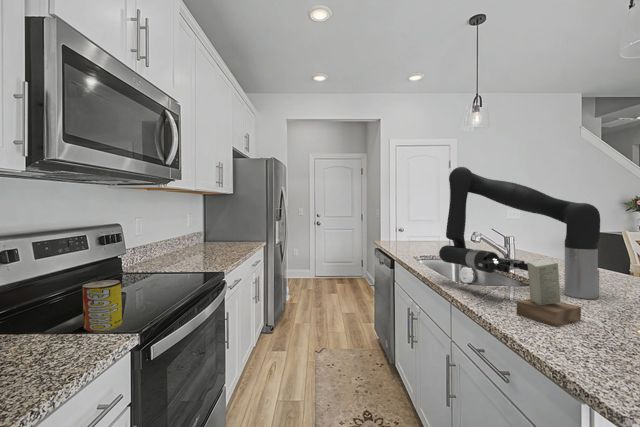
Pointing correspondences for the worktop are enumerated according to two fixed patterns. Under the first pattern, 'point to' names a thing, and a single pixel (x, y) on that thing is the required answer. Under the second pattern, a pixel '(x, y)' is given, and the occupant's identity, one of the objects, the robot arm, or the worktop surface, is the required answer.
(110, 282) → the beverage can
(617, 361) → the worktop surface
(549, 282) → the skincare box
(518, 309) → the walnut block
